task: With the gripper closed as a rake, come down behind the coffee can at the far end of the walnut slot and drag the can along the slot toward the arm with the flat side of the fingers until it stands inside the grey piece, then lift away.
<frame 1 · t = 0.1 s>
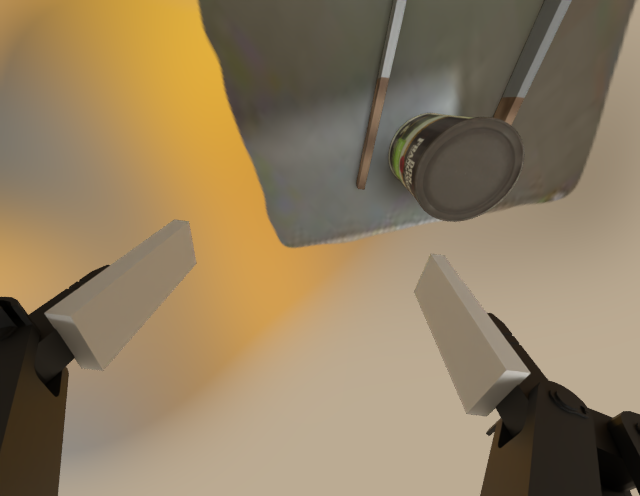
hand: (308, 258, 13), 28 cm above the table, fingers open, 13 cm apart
slot rails: (425, 144, 35), on the table
coffee can: (422, 151, 36), on the table
grey piece: (466, 18, 28), on the table
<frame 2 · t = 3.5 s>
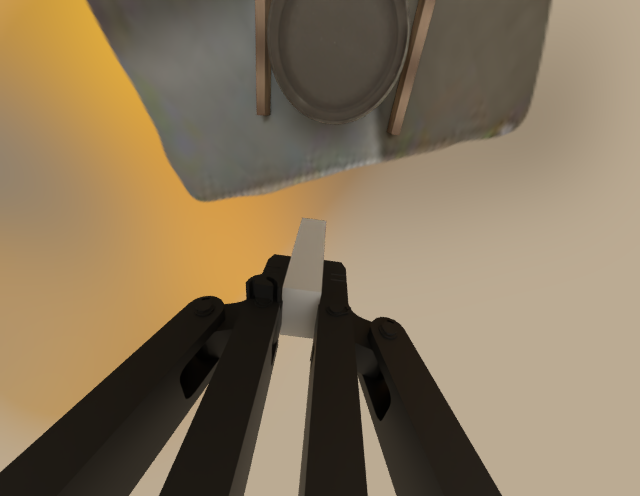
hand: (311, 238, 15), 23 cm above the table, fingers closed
slot rails: (337, 58, 29), on the table
coffee can: (335, 68, 29), on the table
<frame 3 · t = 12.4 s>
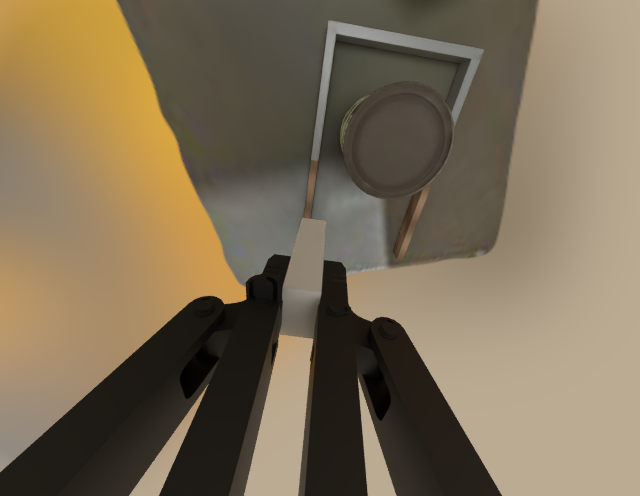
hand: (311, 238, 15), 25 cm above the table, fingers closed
slot rails: (359, 208, 40), on the table
coffee can: (374, 135, 35), on the table
grey piece: (382, 115, 33), on the table
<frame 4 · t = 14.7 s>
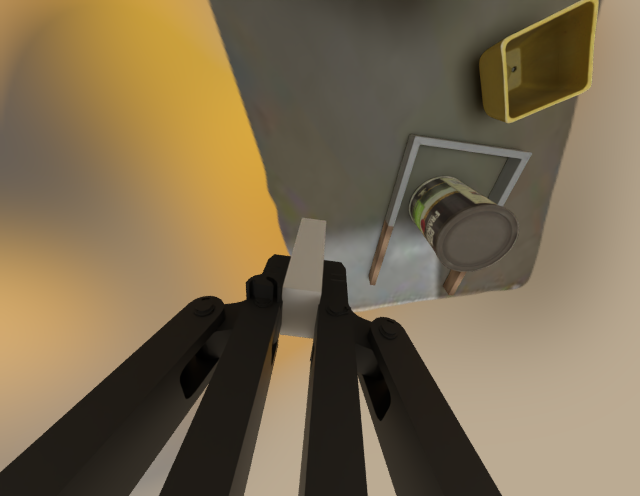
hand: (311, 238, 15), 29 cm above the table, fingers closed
slot rails: (418, 255, 50), on the table
coffee can: (437, 203, 44), on the table
flower pot: (498, 74, 34), on the table
grey piece: (445, 190, 42), on the table
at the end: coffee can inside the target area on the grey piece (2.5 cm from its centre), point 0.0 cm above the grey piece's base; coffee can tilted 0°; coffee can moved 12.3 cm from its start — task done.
